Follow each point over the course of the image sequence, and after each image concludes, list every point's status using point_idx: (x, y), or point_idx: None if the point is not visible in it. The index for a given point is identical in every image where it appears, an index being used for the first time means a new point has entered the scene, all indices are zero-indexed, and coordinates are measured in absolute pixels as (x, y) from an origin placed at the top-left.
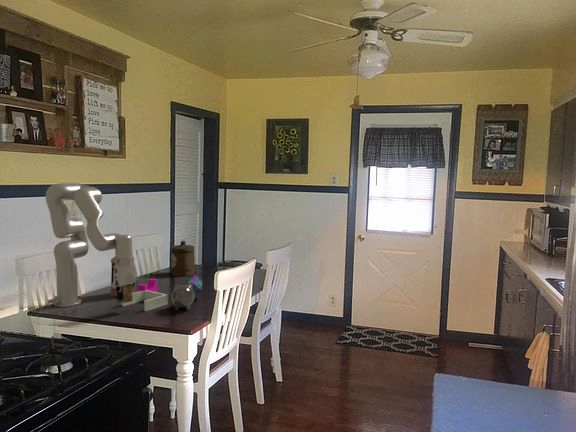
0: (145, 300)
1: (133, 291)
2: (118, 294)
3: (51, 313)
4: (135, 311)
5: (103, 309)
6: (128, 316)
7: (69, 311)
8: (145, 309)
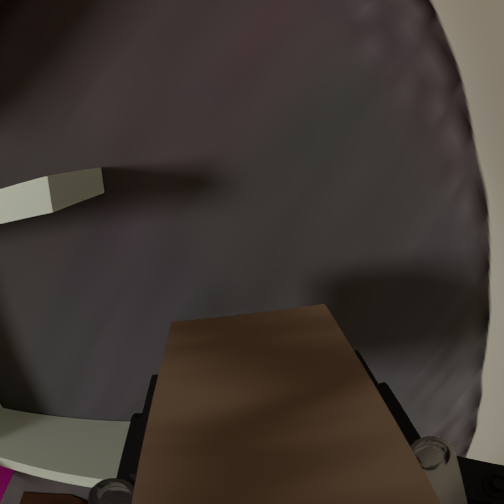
0: (34, 211)
1: (28, 499)
2: None
3: None
4: (169, 244)
5: None
6: (324, 157)
7: None
8: (94, 173)
